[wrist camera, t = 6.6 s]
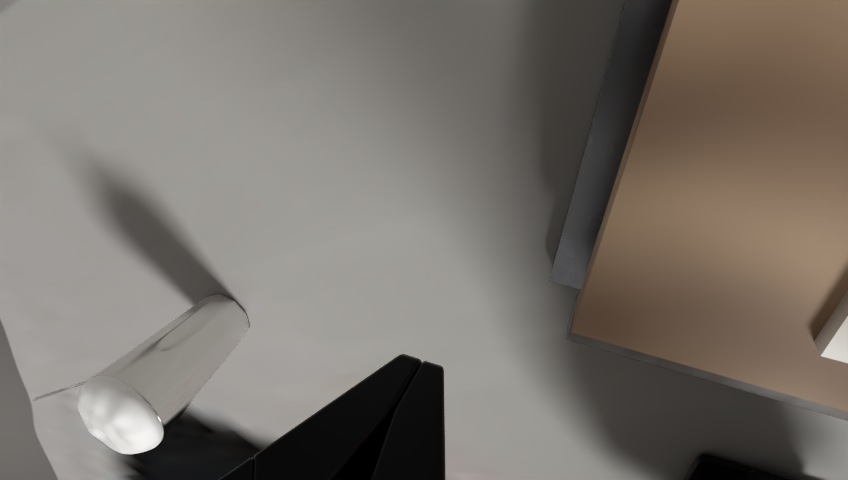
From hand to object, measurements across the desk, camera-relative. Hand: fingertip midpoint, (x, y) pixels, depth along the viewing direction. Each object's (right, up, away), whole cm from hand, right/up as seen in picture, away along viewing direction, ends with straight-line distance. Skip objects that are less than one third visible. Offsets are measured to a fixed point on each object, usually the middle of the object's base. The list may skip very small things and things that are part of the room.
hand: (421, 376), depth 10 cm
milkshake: (-12, -2, +22) cm, 25 cm away
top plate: (+13, +4, +4) cm, 14 cm away
